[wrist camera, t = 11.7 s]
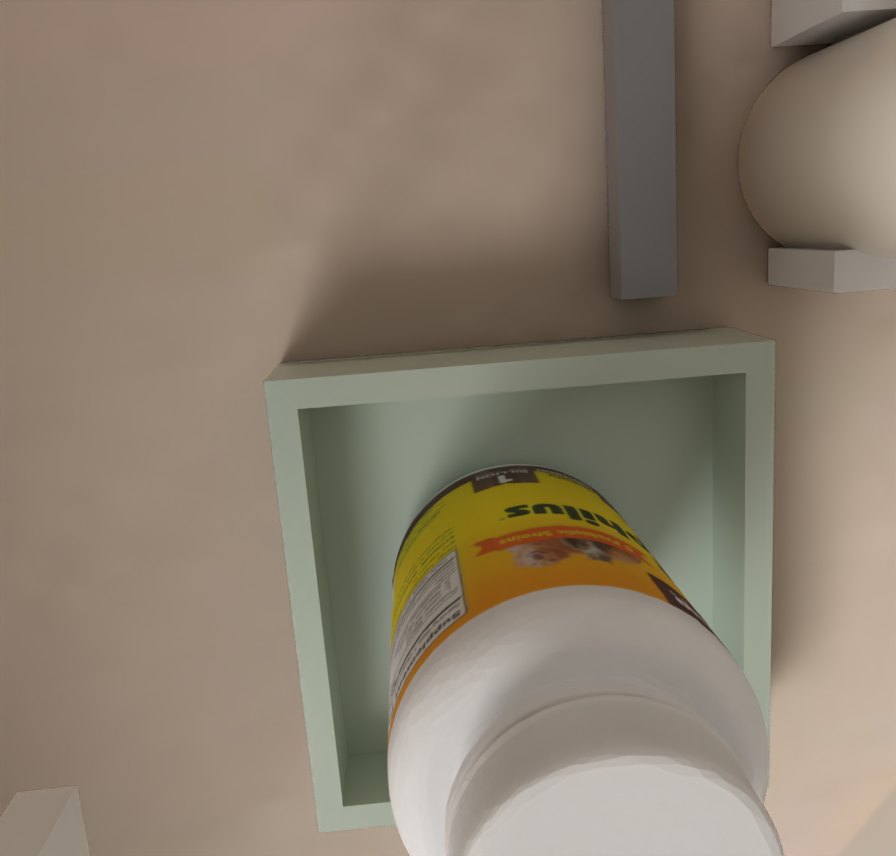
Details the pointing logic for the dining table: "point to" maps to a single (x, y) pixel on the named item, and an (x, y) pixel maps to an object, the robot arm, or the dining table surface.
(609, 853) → the supplement bottle
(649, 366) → the tray
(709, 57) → the dining table surface
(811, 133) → the twin cylinder holder
